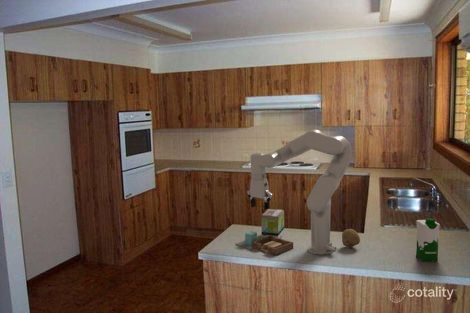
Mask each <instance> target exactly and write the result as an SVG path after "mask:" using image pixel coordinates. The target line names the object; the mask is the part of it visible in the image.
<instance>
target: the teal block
mask: <svg viewBox="0 0 470 313" xmlns="http://www.w3.org/2000/svg"><path fill="white" fill-rule="evenodd" d="M244 239H245V240H244V241H245V244H248V245H251V246H252V242H254V241H257V240H258V233H257V232H255V231H251V230H249V231H247V232H245V233H244Z"/></svg>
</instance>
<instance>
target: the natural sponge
mask: <svg viewBox="0 0 470 313" xmlns="http://www.w3.org/2000/svg"><path fill="white" fill-rule="evenodd" d="M341 239H342V240H341V241H342V245H343V246H345V247H347V248H348V249H350V248H353V247H354V246H357V245H359V244H360V243H361V238H360V236H359V234H358V232H357V231H356V230H355V229H353V228H347V229H345V230H344V231H343V232H342V233H341Z"/></svg>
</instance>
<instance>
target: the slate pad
mask: <svg viewBox="0 0 470 313" xmlns="http://www.w3.org/2000/svg"><path fill="white" fill-rule="evenodd" d="M235 246H238V247H241V248H245V249H247V250H250V251H253V250H255V249H254V248H253V246H251V245H248V244H245V240H243V241H240V242H237V243H235Z"/></svg>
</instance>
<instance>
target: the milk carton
mask: <svg viewBox="0 0 470 313" xmlns="http://www.w3.org/2000/svg"><path fill="white" fill-rule="evenodd" d="M415 222H416V254H415V257H417V258H418V259H419V260H421V262H438V261H439V234H440V233H439V232H440V226H441V224H440V223H438V222H437V221H436V219H435V218H433V217H426V218H425V219H417V220H416V221H415Z"/></svg>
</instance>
